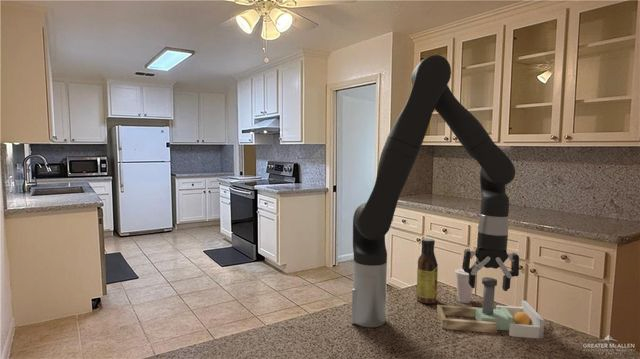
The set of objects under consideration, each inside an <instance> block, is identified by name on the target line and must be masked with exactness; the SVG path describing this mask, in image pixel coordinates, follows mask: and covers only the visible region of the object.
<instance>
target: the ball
mask: <svg viewBox="0 0 640 359" xmlns="http://www.w3.org/2000/svg"><path fill="white" fill-rule="evenodd" d="M513 323H514V324H524V325H529V323H530V318H529V316H528V315H527V314H526V313H524V312H518V313H516V314H515V315H514V321H513Z"/></svg>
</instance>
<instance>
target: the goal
mask: <svg viewBox="0 0 640 359" xmlns="http://www.w3.org/2000/svg"><path fill="white" fill-rule="evenodd" d="M495 306H496V307H495V309H501V307H503V308H506V309H507V310H508V311H509V313H510V314H511V315H512V316H513V318H514V315H515V314H516V313H518V312H524V313H526V314H527V315H528V316H529V318H530V323H529V325H524V324H516V323H513V324H511V323H510V327H509V330H508V334H509V337H516V338H527V339H528V338H529V339H544V331H545V319H544V318H542V316H541V315H540V313H538V312H537V311H536V310H535V309H534V308H533V307H532V305H530V303H528V302H527V300H521V306H512V305H511V306H510V305H497V304H496V305H495Z"/></svg>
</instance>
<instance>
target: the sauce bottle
mask: <svg viewBox="0 0 640 359" xmlns="http://www.w3.org/2000/svg"><path fill="white" fill-rule="evenodd" d="M435 241H436V240H435V239H433V238H421V254H420V255H419V257H418V260H417V271H416V272H417V273H416V276H417V277H416V278H417V279H416V296H417V297H416V298H417V301H419V303H422V304H430V305H431V304H432V305H433V304H434V303H436V301H437V297H438V266H439V264H438V261H437V258H436V255H435Z"/></svg>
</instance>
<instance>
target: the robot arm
mask: <svg viewBox="0 0 640 359" xmlns="http://www.w3.org/2000/svg"><path fill="white" fill-rule="evenodd" d="M451 67H452V66H451V64H450V63H449V61H448V60H447V59H446V57H444V56H442V55H440V54H432V55H428V56H426V57H425V58H423V59H422V60H421V61H420V62H418V64H416V66H415V68H414V69H413V70H412V73H411V84H412V85H411V86H412V87H411V90H410V92H409V96H408V98H407V101H406V103H405V105H404V107H403V109H402V110H401V112H400V114H399V115H398V116H397V118H396V121H395V122H394V123H393V125H392V127H391V129H390V131H389V133H388V136H387V138H386V140H385V143H384V145H383V148H382V151H381V153H380V156H379V161H378V164H377V165H378V166H377V167H378V168H377V173H376V177H375V178H376V179H375V182H374V186H373V188H372V191H371V193H370V194H369V198H368V199H367V201H366V202H364V203H362V204H361V203H360V205H359V206H358V207H356V209H355V211H354V214H353V217H352V251H353V268H352V270H353V271H352V273H353V276H352V290H351V291H352V294H351V324H352V325H353V324H354V325H357V326H360V327H363V328H378V327H381V326H383V325H384V324H385V323H386V308H387V307H386V304H387V303H386V300H387V275H388V274H387V271H388V269H387V267H388V250H387V246H386V234H388V232H389V230H390V228H391V225H392V222H393V218H394V216H395V211H396V209H397V205H398V201H399V198H400V196H401V193H402V192H403V189H404V187H405V185H406V184H407V181H408V178H409V175H410V173H411V171H412V169H413V167H414V164H415V162H416V160H417V158H418V156H419V152H420V150H421V148H422V146H423V142H424V140H425V137H426V134H427V130H428V128H429V125H430V122H431V119H432V116H433V114H434V111H436V112H437V114H438V115H439V116H440V117H441V118H442V120H443V121H444V122H445V124H446V125H447V126H448V127H449V129H450V130H451V131H452V134H454V136H455V138H456V139H457V140H458V141H459V143H460V145H462V147H463V149H464V150H465V152H466V153H467V154H468V155H469V156H470V158H472V159H473V160H475V161H476V162H477V163H478V164H479V166H480V167H481V168H480V171H479V183H480V185H479V186H480V193H481V201H480V212H479V213H480V214H479V219H478V226H477V229H478V230H477V241H476V250H469V249H468V248H466V249H464V251H463V258H462V259H463V260H462V265H461V266H462V267H461V269H463V270H464V271H465V272H467V273H469V280H468V283H469V285H470V286H471V288H473V289H475V288H476V277H477V273H478V271H481V270H482V268H485V269H489V268H492V269H495V270H496V269H500V270H501V271H502V272H503V274H504V275H502V290H503V291H504V292H508V290H510V288H511V279H512V278H513V277H516V278H517V277H519V275H520V255H518V254H517V253H516V252H512V253H508V250H507V249H508V240H509V238H508V237H509V227H510V224H509V214H510V209H509V208H510V198H509V195H507V193H506V185H509V184H510V183H512V182H513V180H514V179H515V177H516V168H515V166H514V162H512V159H510V158H509V156H507V154H506V153H505V152H504V151H503V150H502V149H501V148H500V147H499V146H498V145H497V144H496V143H495V142H494V141H493V139H492V137H491V136H490V134H489V133H488V132H487V130H486V129H485V128H484V126H483V124H482V123H481V122H480V121H479V120H478V119H477V118H476V117H475V115H473V114H472V113H471V111H469V110H468V109H467V108H466V107H465V106H464V105H463V104H461V103H460V101H459V100H458V99H457V98H456V96H455V95H454V94H453V93H452V91H451V89H450V87H449V85H448V84H449V82H450V80H451V77H452V68H451ZM474 256H475V257H476V260H475V261H474V263H473V264H472V265H471V266H470V264H471V263H470V262H471V259H473V258H474ZM507 260H509V261H510V262H511V264H510V265H511V266H510V268H511V269H510V270H509V269H508V268H507V266H506V265H505V262H506V261H507ZM475 274H476V275H475Z"/></svg>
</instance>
